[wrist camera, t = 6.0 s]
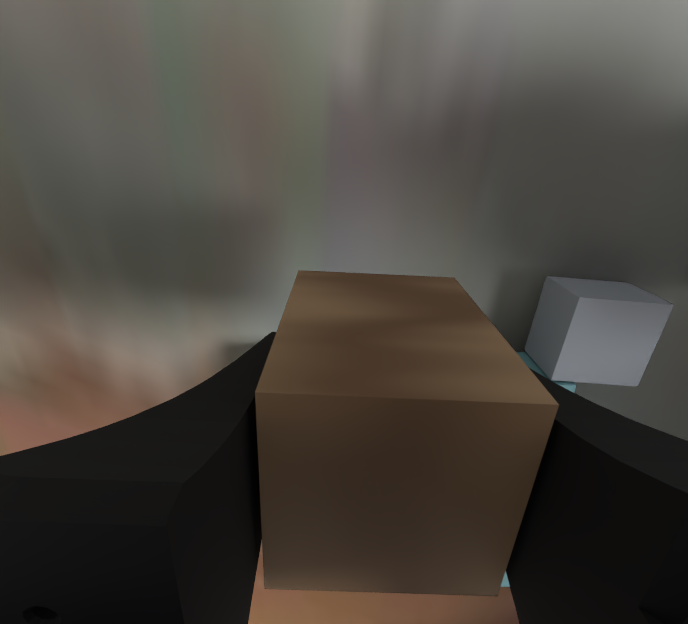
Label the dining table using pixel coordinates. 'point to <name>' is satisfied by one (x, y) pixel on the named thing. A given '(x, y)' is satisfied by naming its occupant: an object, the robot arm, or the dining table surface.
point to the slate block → (595, 330)
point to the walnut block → (393, 439)
